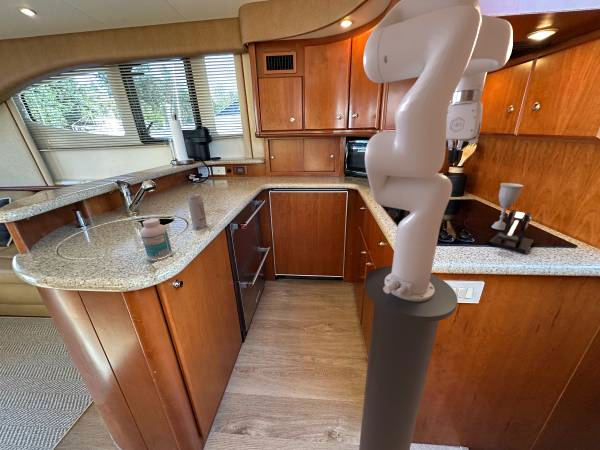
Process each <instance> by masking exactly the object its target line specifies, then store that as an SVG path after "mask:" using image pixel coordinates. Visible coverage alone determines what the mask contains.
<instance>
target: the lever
mask: <svg viewBox="0 0 600 450" xmlns="http://www.w3.org/2000/svg"><path fill="white" fill-rule="evenodd" d="M525 215H526V212H521V211H516V214H515V216H514V220H513V223H512V227H511V229H510V231H509V233H508V234H507V235H504V234H499V235H498V239H501V240H506V241H510V242H514V243H518V241H519V238H517V237H513V236H512V235H514V233H515V231H516V230H517V227H518V226H519V224H522V223H523V220H524V217H525Z"/></svg>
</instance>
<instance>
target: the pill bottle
mask: <svg viewBox="0 0 600 450" xmlns="http://www.w3.org/2000/svg"><path fill="white" fill-rule="evenodd" d="M160 223H161V221H160V219H159V218H149V219H145V220H143V221H142V226H143V228H142V229H141V230H140V236H141V239H142V242H143V246H144V249H145V250H144V251H145V252H146V255H147V259H148V258H149V259H148V261H150V262H161V261H165V260H167V259H169V258H171V257H172V255H173V250H172V247H171V242H170V238H169V234H168V230H167V227H166V226H165V225H164V224H160ZM171 253H172V254H171ZM169 254H171V255H169ZM167 255H169V256H167ZM165 256H167V257H165ZM162 257H165V258H162ZM158 258H162V259H158ZM150 259H157V260H150Z"/></svg>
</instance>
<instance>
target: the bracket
mask: <svg viewBox="0 0 600 450" xmlns="http://www.w3.org/2000/svg"><path fill="white" fill-rule="evenodd" d="M516 212H517V209H512V210H510V211H509V213H508V214H507V216H506V218H507V220H506V222H505V224H506V226H505V229H504V230H503V232H501V231H499V232H497V233H496V234H495V235H494V236H493V237H492V238H491V239H490V240H489V241H488V246H492V247H495V248H500V249H503V250H507V251H512V252H515V253H519V254H522V255H527V253H529V250H530V249H531V248H532V246H533V245H534V244H535V243H534V242H535V239H533V238H532V239H531V238H528V237H525V235H526V233H527V229H528V226H529V224H530V222H532V218H533V217H532V214H533V213H532V212H530V211H529V212H528V211H527V213H525V217H524V220H523V221H522V223H521V227H520V230H519V232H518V235H514V234H513V235H512V236H513V237H517V238H519V241H518V243H514V242H510V241H506V240H501V239H498V235H499V234H504V235H507V234H508V233H509V231H510V229H511V227H512V225H513V223H514V222H513V220H514V216H515V214H516Z"/></svg>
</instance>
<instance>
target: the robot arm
mask: <svg viewBox="0 0 600 450" xmlns="http://www.w3.org/2000/svg"><path fill="white" fill-rule="evenodd" d="M480 5H481V4H480V0H399V1H398V2H396V4H394V6H393V7H392V8H391V9H390V10H389V11H388V12H387V13H386V15H384V17H382V19H381V20H380V22H379V23H378V24H377V25H376V27H374V29H373V30H372V32H371V33H370V35H369V36H368V39H367V40H366V43H365V46H364V50H363V59H362V62H363V63H362V64H363V70H364V73H365V75H366V77H367V78H368V79H369V81H371V82H373V83H375V84H387V83H392V82H398V81H405V80H411V79H415V78H417V79H416V81H415V82H414V84H413V85H412V86H411V88H410V89H409V90H407V92H406V93H405V95H404V96H403V97H402V99H401V101H400V102H399V104H398V106H397V108H396V110H395V113H394V126H395V130H388V131H381V132H377V133H375V134H373V135H372V136H371V137H370V138H369V140H368V141H367V143H366V146H365V151H364V167H365V172H366V176H367V179H368V183H369V186H370V192H371V194H372V197H373V200H374V202H375V203H376V204H377V205H379V206H382V207H386V208H393V209H397V210H404V211H408V212H409V214H408V215H406V216H405V217H403V218H402V220H400V221H399V223H398V224H397V227H396V233H395V242H394V248H393V258H392V265H391V266H392V273H391V274H389V275H387V276H386V278H385V282H384V284H385V286H384V287H383V290H384V292H385V293H387V294H388V293H390V292H391V293H392V294H393V295H395V296H397V297H399V298H402V299H404V300H408V301H416V302H420V301H426V300H429V299H431V298H432V297H433V295H434V291H435V289H434V286H433V285H432V284H431V283H430V282H429V281H430V276H431V274H432V271H433V267H434V266H433V265H434V260H435V255H436V250H437V245H438V240H439V235H440V231H441V230H440V229H441V226H442V223H441V222H442V218H443V219H444V215H445V213H446V209H447V207H448V204H449V202H450V199H451V196H452V192H453V183H452V181H451V179H450V178H449V177H448V176H447V175H445V174H442V173H439V172H440V171H441V170H442V168H443V166H444V163H445V159H446V149H447V150H448V156H447V160H448V164H453V165H454V164H458V163H459V161H460V160H461V155H462V151H463V150H464V149H465V148H466V147H468V146H470V145H475V144H478V143H479V136H480V134H481V129H482V128H481V127H482V123H483V109H484V103H483V102H481V101H482V96H483V91H484V87H485V83H486V77H487V74H488V73H489V72H494V71H497V70H500V69H502V68H503V67H504V66H505V65H506V63H507V62H508V61H509V59H510V56H511V54H512V50H513V39H514V38H513V35H514V34H513V26H512V24H511V23H510V22H509V21H508V20H507V19H503V18H502V17H501V18H500V17H495V16H491V15H487V14H482V12H481V11H482V10H481V6H480ZM457 141H458V143H457Z"/></svg>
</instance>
